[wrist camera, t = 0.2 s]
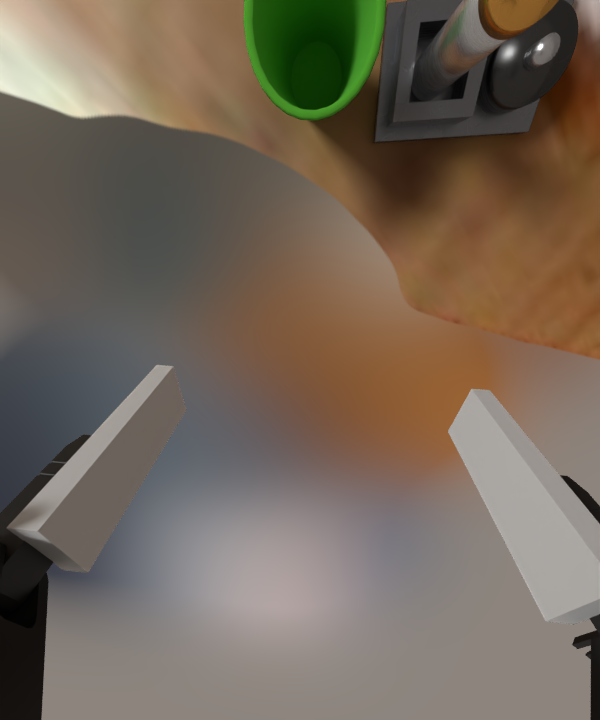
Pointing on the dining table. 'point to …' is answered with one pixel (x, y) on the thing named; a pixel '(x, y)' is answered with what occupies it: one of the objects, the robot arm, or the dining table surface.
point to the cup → (313, 51)
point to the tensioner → (468, 75)
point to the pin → (472, 40)
